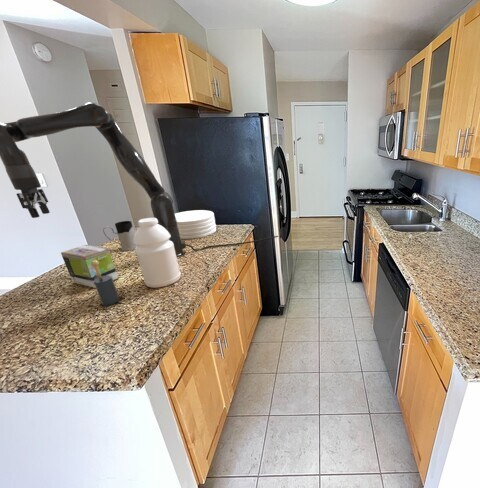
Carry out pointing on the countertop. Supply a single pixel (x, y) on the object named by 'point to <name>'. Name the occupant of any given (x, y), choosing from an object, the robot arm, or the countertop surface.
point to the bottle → (156, 254)
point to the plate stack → (195, 223)
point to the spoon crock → (105, 287)
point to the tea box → (88, 264)
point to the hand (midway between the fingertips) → (41, 215)
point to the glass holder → (124, 235)
